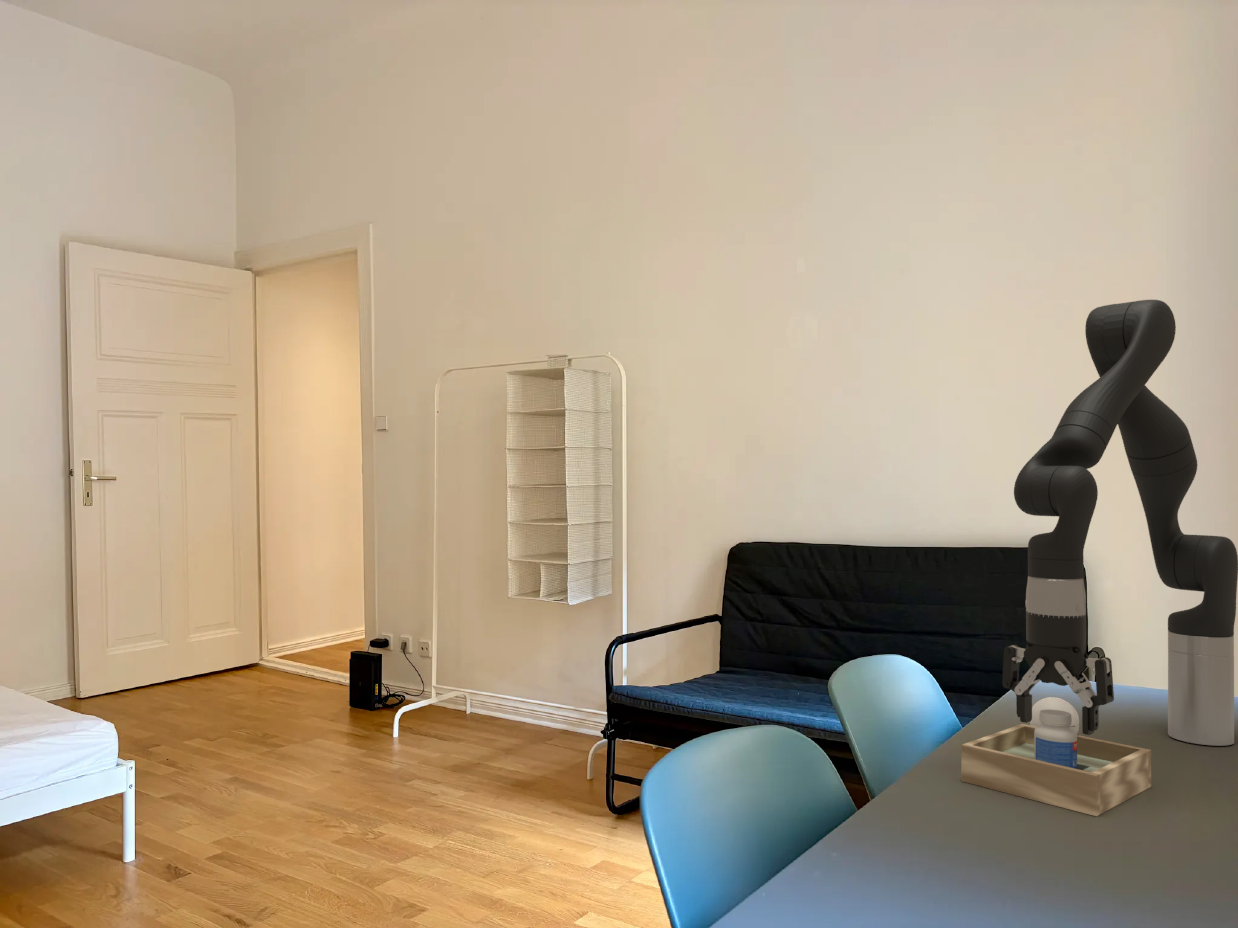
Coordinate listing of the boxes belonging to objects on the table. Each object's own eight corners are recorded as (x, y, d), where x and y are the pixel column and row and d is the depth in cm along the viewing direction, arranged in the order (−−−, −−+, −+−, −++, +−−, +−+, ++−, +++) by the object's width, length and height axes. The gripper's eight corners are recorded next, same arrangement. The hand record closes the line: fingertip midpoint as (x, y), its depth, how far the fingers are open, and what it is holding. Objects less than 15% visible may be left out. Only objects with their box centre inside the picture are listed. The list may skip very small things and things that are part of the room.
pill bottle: (1082, 791, 126) (1082, 718, 127) (1039, 788, 127) (1039, 716, 128) (1071, 778, 132) (1071, 708, 132) (1030, 776, 133) (1030, 706, 133)
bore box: (1022, 756, 142) (1022, 723, 142) (1151, 786, 129) (1151, 749, 129) (961, 780, 130) (961, 744, 130) (1096, 816, 117) (1096, 775, 117)
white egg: (1029, 747, 148) (1029, 700, 148) (1028, 735, 155) (1028, 690, 155) (1101, 754, 144) (1101, 706, 144) (1096, 742, 151) (1096, 696, 151)
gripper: (1121, 612, 127) (1121, 733, 127) (1018, 602, 138) (1018, 713, 138) (1098, 618, 122) (1098, 743, 122) (993, 606, 133) (993, 721, 133)
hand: (1056, 727), depth 130 cm, fingers open, 8 cm apart
